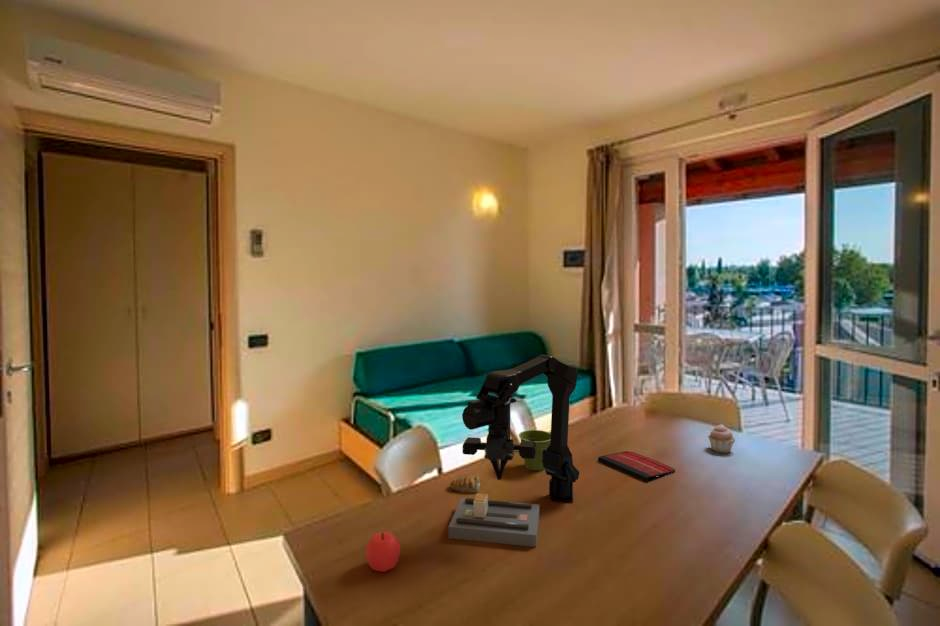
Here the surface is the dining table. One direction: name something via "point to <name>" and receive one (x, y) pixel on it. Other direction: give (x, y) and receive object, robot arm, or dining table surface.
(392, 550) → the apple
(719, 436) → the cupcake
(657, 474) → the binder
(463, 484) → the pastry
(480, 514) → the switch knob
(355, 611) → the dining table surface
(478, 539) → the slide switch base
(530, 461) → the plant pot
